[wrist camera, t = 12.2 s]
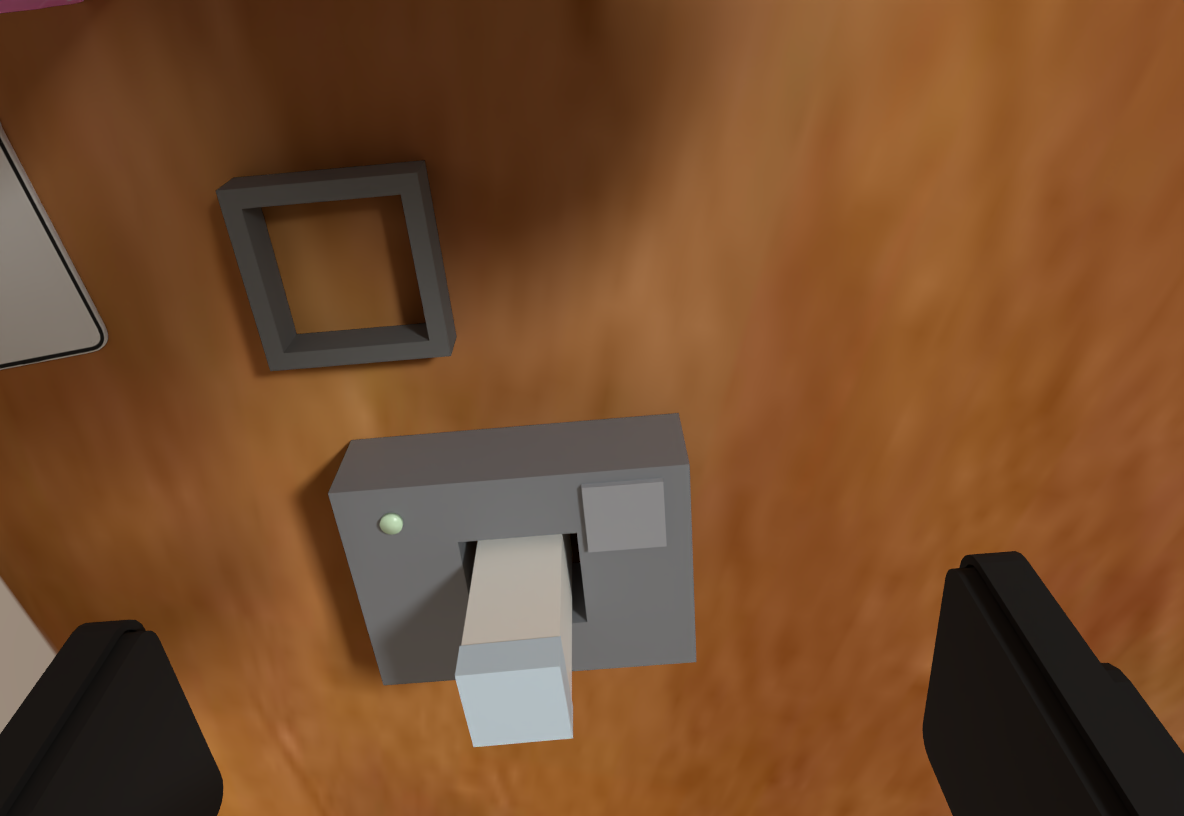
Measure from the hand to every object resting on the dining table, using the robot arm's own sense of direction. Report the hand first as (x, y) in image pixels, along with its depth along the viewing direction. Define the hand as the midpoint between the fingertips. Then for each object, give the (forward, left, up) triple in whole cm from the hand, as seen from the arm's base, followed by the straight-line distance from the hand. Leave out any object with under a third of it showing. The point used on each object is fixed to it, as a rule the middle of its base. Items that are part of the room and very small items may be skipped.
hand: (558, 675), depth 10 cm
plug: (+4, +19, -28) cm, 34 cm away
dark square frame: (+10, +4, -28) cm, 30 cm away
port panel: (+4, +19, -28) cm, 34 cm away
